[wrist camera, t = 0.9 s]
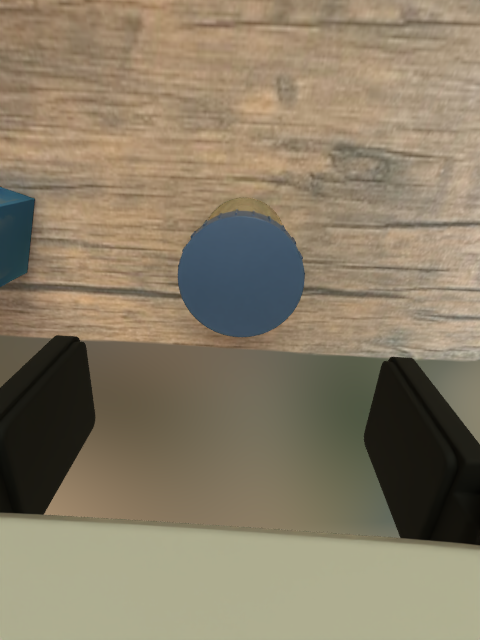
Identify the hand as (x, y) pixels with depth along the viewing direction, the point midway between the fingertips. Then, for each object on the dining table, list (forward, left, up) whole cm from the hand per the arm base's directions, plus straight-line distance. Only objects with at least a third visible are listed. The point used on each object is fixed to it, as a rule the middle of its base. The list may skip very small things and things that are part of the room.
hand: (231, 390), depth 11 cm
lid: (0, 0, -10) cm, 10 cm away
